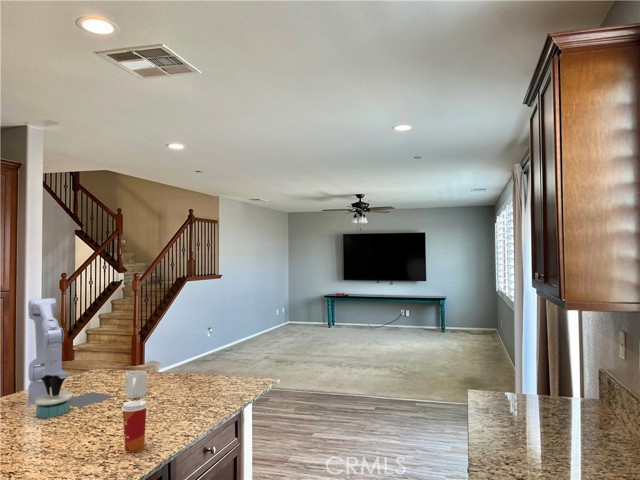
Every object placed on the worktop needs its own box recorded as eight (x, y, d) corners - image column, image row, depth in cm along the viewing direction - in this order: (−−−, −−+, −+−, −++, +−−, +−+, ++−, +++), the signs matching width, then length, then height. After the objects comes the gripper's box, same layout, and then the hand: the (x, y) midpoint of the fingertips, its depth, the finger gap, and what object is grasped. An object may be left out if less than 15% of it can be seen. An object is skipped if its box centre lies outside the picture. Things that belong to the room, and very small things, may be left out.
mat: (58, 402, 194) (58, 401, 194) (92, 392, 208) (92, 391, 208) (81, 408, 186) (81, 407, 186) (115, 397, 200) (115, 396, 200)
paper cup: (126, 443, 149) (126, 400, 150) (150, 442, 150) (150, 399, 150) (117, 453, 141) (117, 407, 142) (143, 452, 142) (143, 406, 143)
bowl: (30, 415, 178) (30, 405, 178) (58, 407, 187) (58, 397, 188) (47, 420, 172) (47, 409, 173) (74, 411, 182) (74, 401, 182)
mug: (143, 401, 194) (143, 376, 195) (122, 402, 192) (122, 378, 193) (147, 393, 206) (147, 370, 206) (127, 394, 204) (128, 371, 204)
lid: (28, 402, 178) (27, 389, 178) (61, 391, 189) (60, 379, 189) (46, 407, 172) (46, 394, 172) (80, 396, 183) (79, 383, 183)
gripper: (32, 360, 181) (32, 395, 180) (54, 363, 174) (53, 400, 173) (50, 356, 187) (50, 390, 186) (71, 360, 180) (71, 395, 179)
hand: (53, 394), depth 180 cm, fingers closed on lid, 3 cm apart
